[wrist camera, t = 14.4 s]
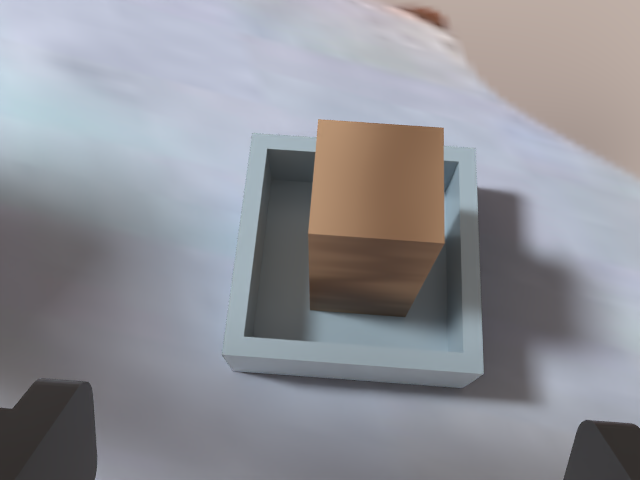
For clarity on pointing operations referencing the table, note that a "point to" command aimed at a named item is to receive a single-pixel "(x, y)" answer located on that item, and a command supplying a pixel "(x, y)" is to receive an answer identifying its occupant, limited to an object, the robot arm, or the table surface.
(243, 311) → the tray
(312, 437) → the table surface
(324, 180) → the block
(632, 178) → the table surface
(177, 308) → the table surface
